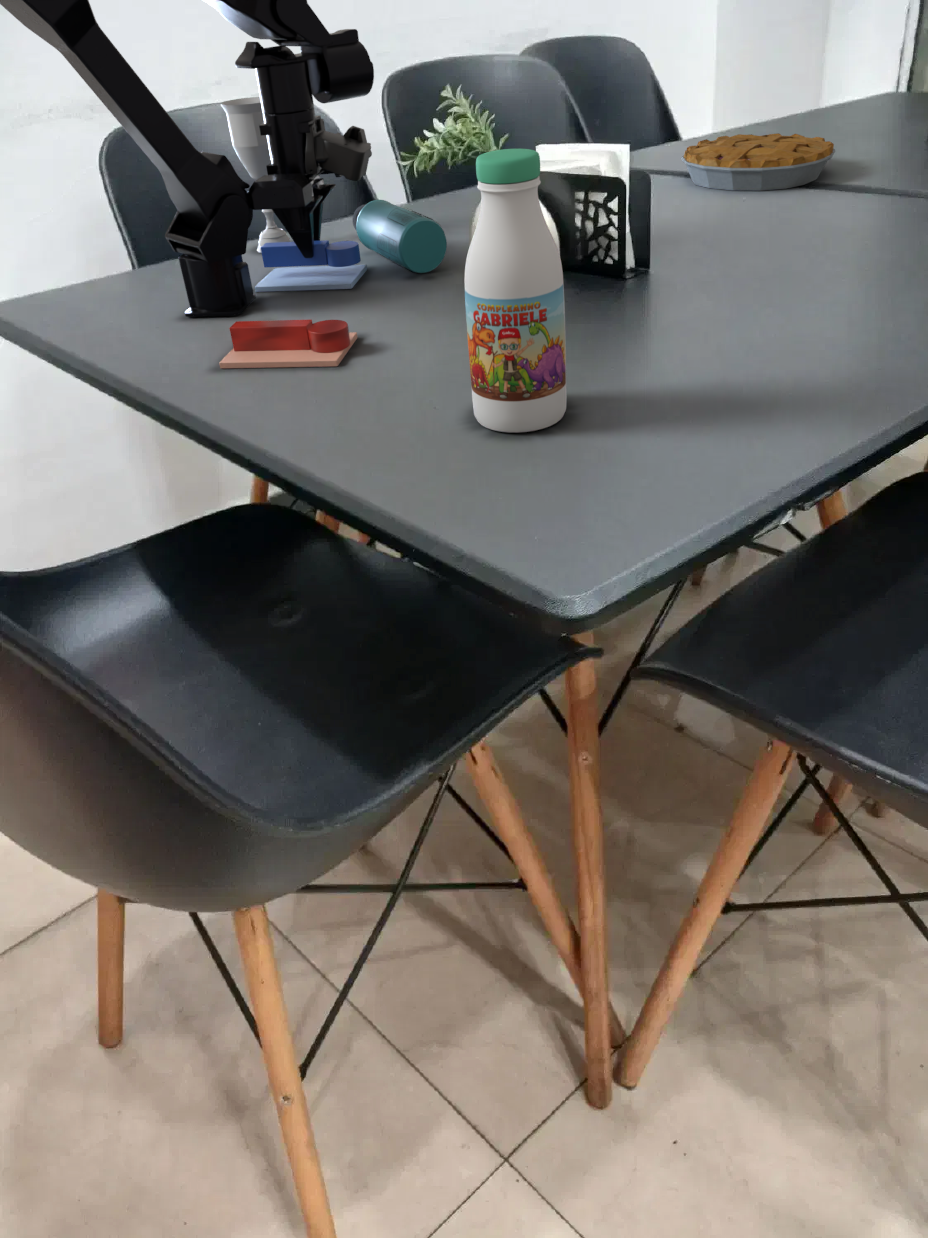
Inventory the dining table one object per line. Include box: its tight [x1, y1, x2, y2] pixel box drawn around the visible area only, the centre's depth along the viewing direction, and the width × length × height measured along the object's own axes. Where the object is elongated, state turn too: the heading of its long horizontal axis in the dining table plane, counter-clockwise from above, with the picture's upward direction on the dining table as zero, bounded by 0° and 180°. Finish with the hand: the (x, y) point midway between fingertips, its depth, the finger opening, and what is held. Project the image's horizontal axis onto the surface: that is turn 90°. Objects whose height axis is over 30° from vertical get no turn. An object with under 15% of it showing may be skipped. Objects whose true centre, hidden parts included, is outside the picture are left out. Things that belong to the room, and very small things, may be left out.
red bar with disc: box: [228, 318, 350, 353], centre depth 97 cm, size 12×4×2 cm, turn 81°
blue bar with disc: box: [261, 239, 362, 268], centre depth 117 cm, size 12×4×2 cm, turn 81°
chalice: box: [219, 96, 292, 254], centre depth 128 cm, size 7×7×18 cm
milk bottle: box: [464, 148, 568, 433], centre depth 75 cm, size 8×8×20 cm
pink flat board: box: [218, 331, 359, 369], centre depth 98 cm, size 12×8×1 cm, turn 81°
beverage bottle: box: [352, 199, 448, 275], centre depth 121 cm, size 6×7×20 cm
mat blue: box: [254, 264, 368, 293], centre depth 118 cm, size 12×8×1 cm, turn 81°
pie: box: [680, 132, 836, 192], centre depth 144 cm, size 22×22×5 cm
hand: (311, 254), depth 117 cm, fingers closed on blue bar with disc, 2 cm apart
